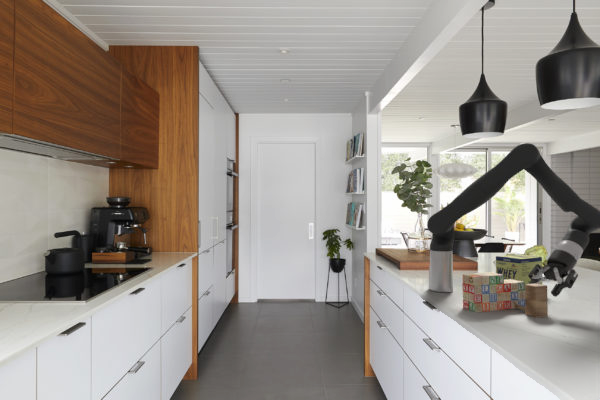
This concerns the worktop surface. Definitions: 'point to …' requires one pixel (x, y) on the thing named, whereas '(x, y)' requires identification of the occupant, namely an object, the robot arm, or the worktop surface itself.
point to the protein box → (517, 266)
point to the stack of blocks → (491, 292)
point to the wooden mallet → (535, 300)
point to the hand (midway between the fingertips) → (541, 292)
